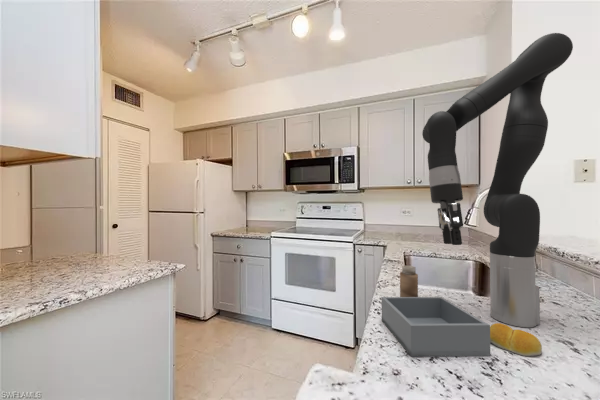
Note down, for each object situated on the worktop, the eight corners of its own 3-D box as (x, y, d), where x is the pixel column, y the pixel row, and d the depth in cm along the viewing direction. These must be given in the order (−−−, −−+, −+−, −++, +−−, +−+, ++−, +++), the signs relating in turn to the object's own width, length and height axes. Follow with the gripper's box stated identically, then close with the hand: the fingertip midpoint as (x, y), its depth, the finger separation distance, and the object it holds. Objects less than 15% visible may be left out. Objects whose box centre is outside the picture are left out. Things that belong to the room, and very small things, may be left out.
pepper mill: (413, 305, 76) (412, 265, 77) (421, 311, 71) (421, 268, 72) (397, 305, 76) (397, 265, 77) (404, 311, 71) (404, 268, 72)
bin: (442, 320, 66) (441, 297, 66) (490, 355, 50) (490, 325, 50) (381, 320, 65) (381, 297, 66) (411, 356, 49) (410, 325, 50)
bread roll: (539, 363, 48) (538, 342, 48) (482, 344, 55) (482, 325, 55) (544, 348, 54) (544, 329, 54) (492, 332, 60) (492, 315, 60)
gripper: (468, 178, 62) (478, 245, 60) (453, 188, 75) (460, 243, 73) (434, 181, 64) (442, 245, 62) (425, 190, 78) (431, 243, 75)
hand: (452, 244), depth 67 cm, fingers open, 8 cm apart
